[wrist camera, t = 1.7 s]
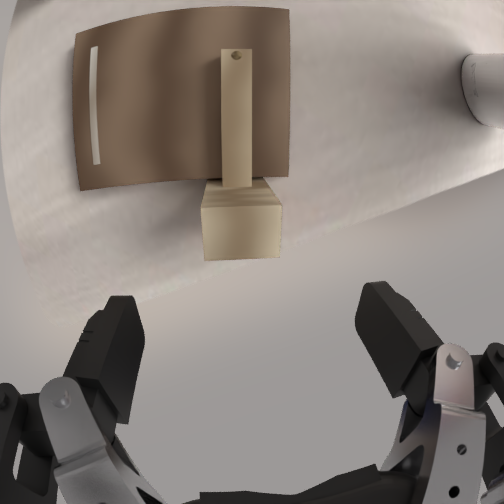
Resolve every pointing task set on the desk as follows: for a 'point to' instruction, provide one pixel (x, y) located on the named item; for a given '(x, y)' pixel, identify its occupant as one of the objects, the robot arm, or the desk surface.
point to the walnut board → (176, 95)
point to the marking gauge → (239, 177)
